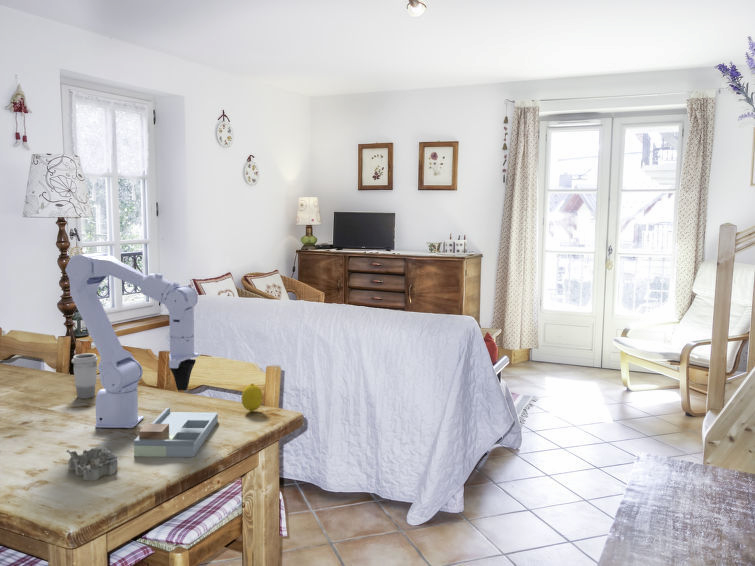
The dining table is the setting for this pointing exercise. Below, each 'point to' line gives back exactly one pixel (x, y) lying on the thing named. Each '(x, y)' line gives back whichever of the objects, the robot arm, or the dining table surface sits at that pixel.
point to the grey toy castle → (93, 463)
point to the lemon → (252, 397)
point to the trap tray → (178, 434)
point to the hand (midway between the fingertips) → (182, 389)
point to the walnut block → (154, 431)
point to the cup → (85, 374)
